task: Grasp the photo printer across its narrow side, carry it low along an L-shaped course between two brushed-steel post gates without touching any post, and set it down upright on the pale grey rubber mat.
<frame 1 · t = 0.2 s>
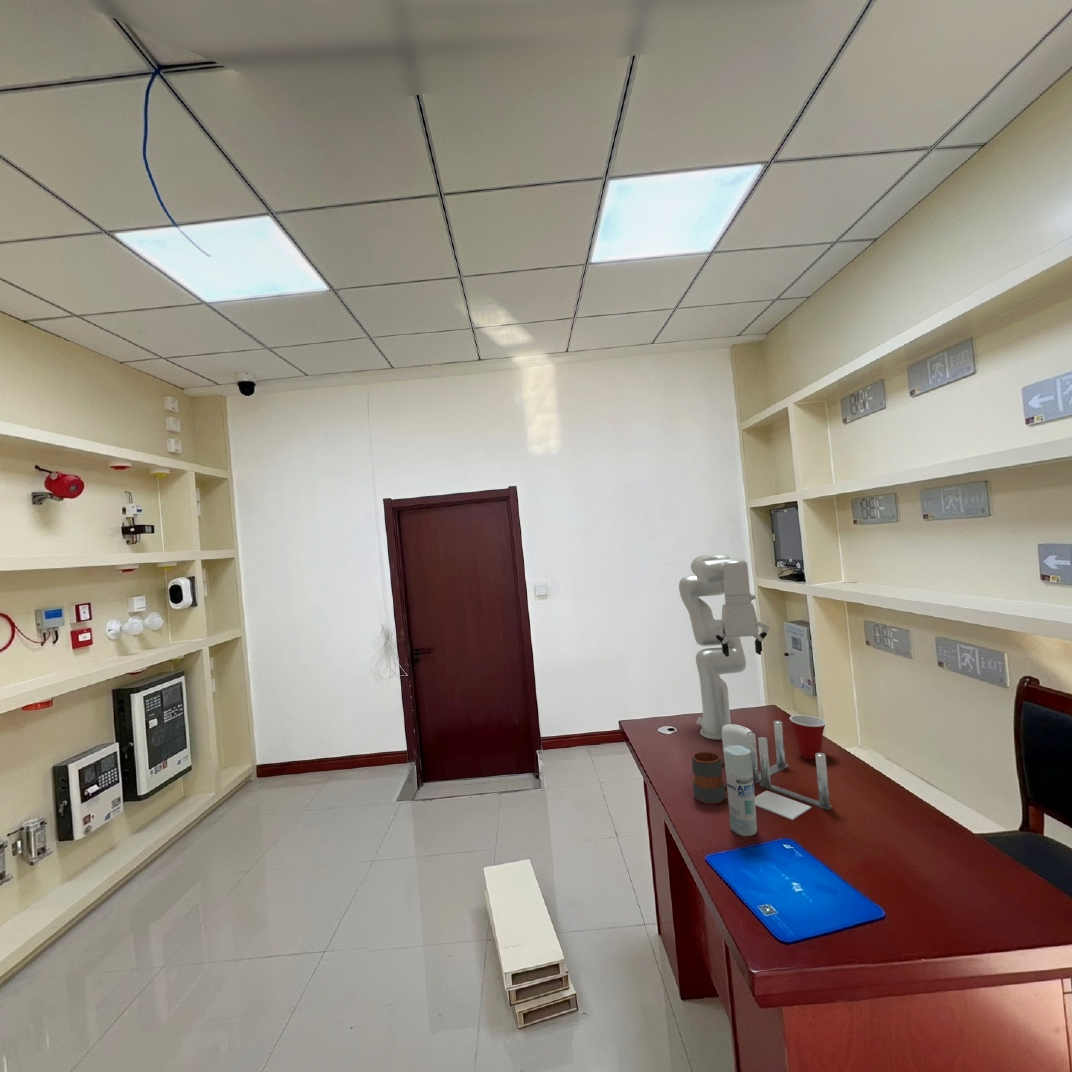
hand: (742, 654, 170), 36 cm above the table, tool pointing down, fingers open, 9 cm apart
mug: (715, 798, 155), on the table
spray paint can: (743, 830, 138), on the table
gate a: (768, 773, 168), on the table
mat: (778, 805, 148), on the table
plastic cup: (811, 756, 177), on the table
gate b: (794, 796, 152), on the table
photo printer: (740, 764, 176), on the table
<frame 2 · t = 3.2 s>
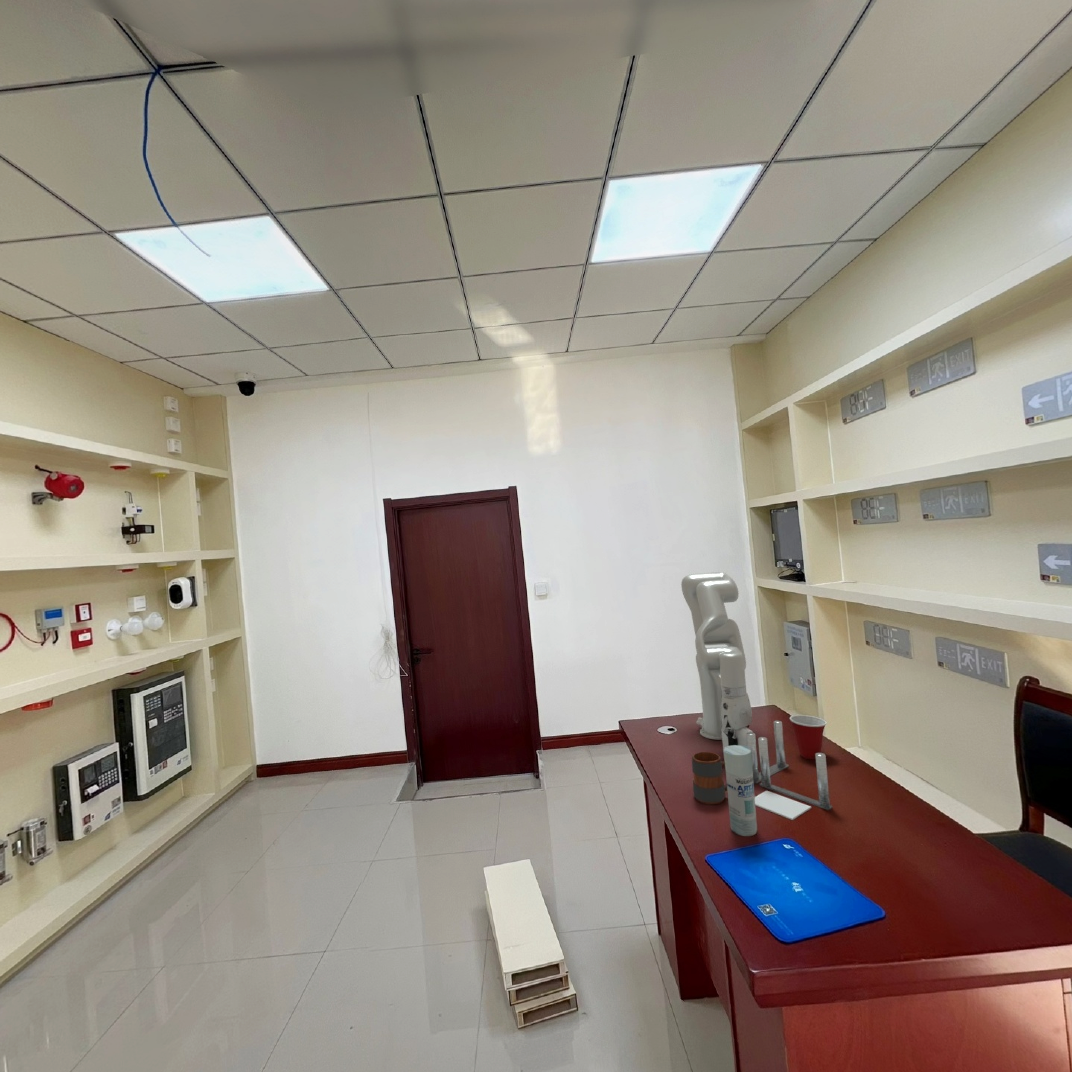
hand: (738, 746, 176), 5 cm above the table, tool pointing down, fingers closed on photo printer, 4 cm apart
photo printer: (740, 764, 176), on the table, touching gripper
everything else where it was.
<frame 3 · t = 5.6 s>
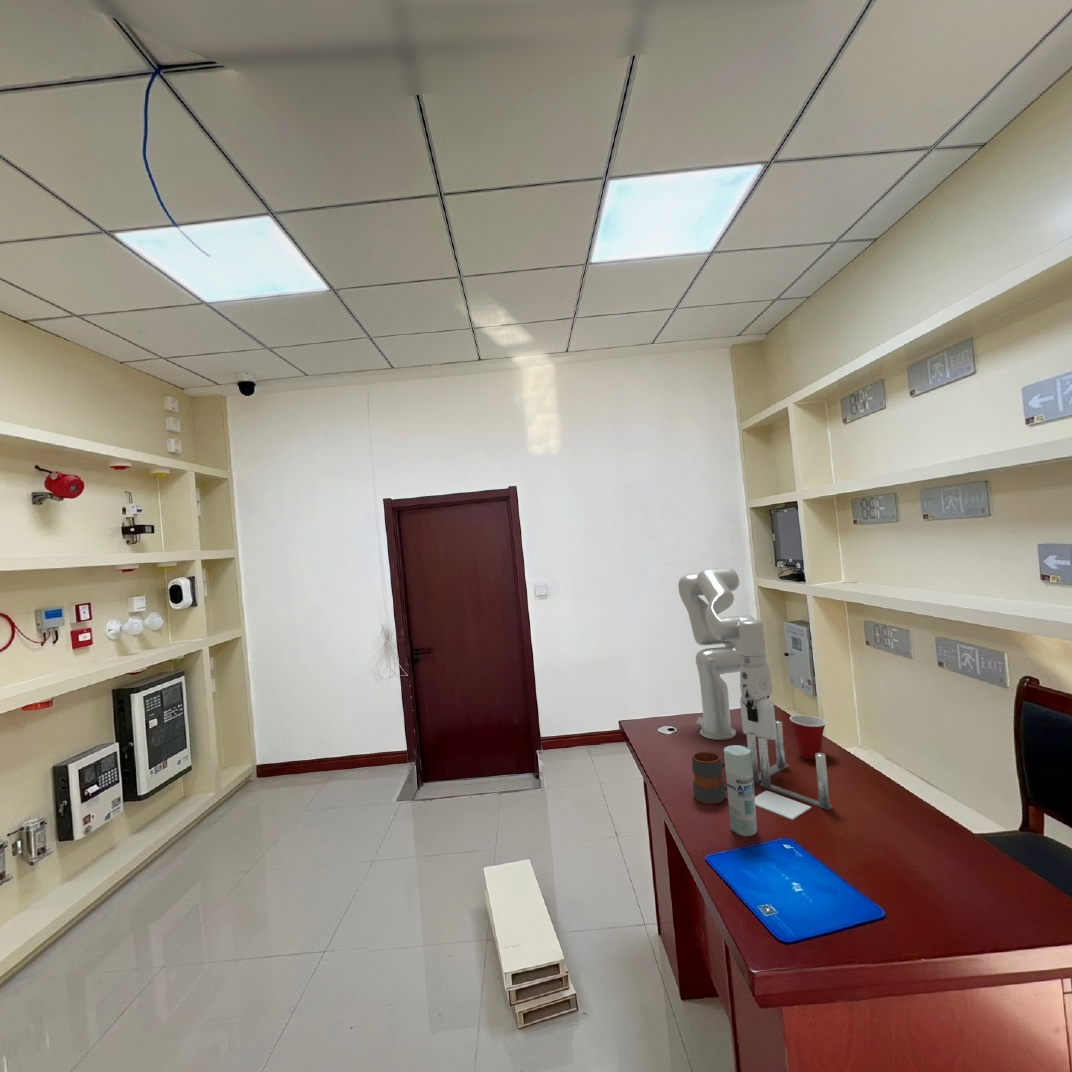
hand: (758, 718, 169), 16 cm above the table, tool pointing down, fingers closed on photo printer, 4 cm apart
photo printer: (759, 736, 169), point 11 cm above the table, touching gripper
everything else where it was.
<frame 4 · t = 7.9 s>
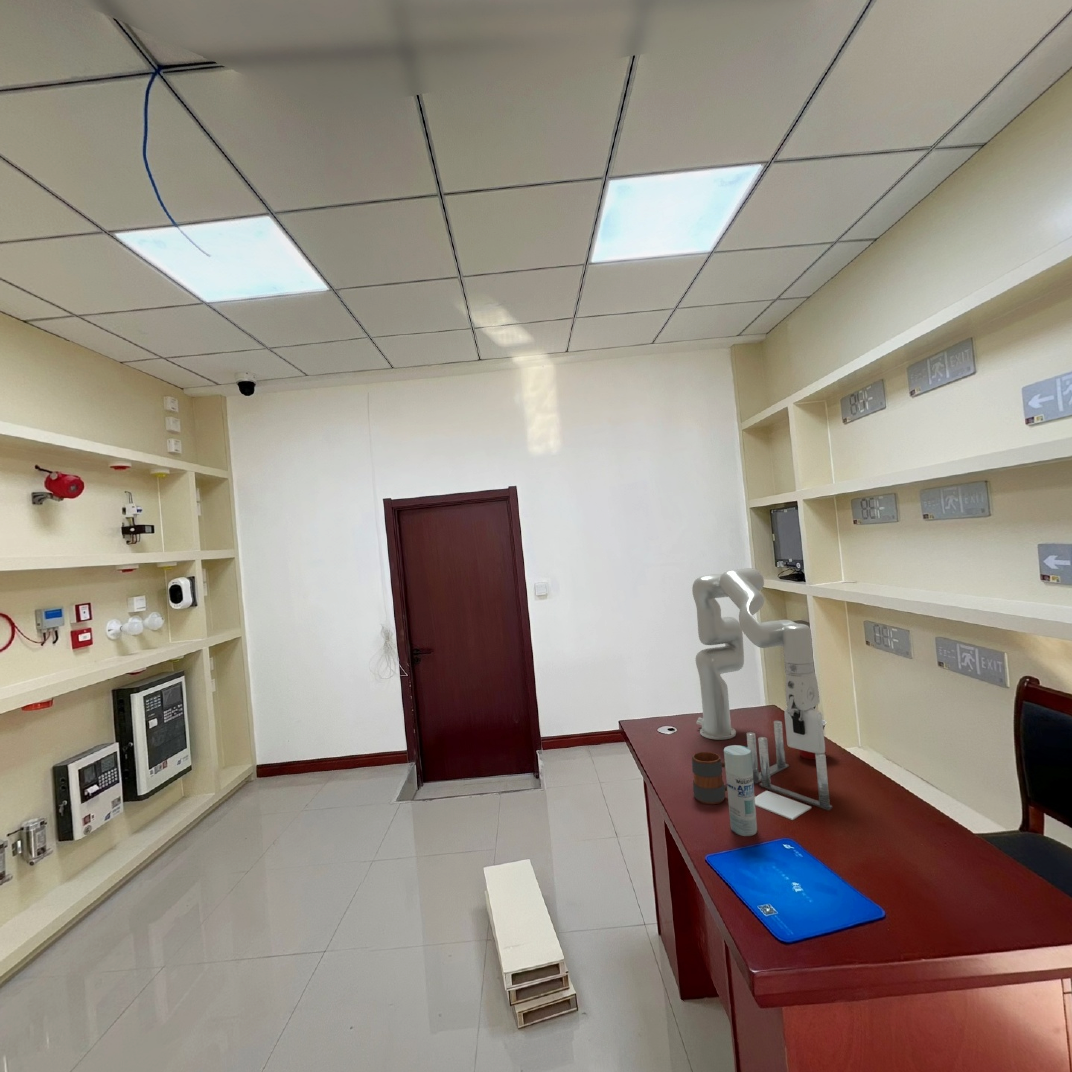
hand: (804, 730, 157), 16 cm above the table, tool pointing down, fingers closed on photo printer, 4 cm apart
photo printer: (805, 749, 157), point 11 cm above the table, touching gripper
everything else where it was.
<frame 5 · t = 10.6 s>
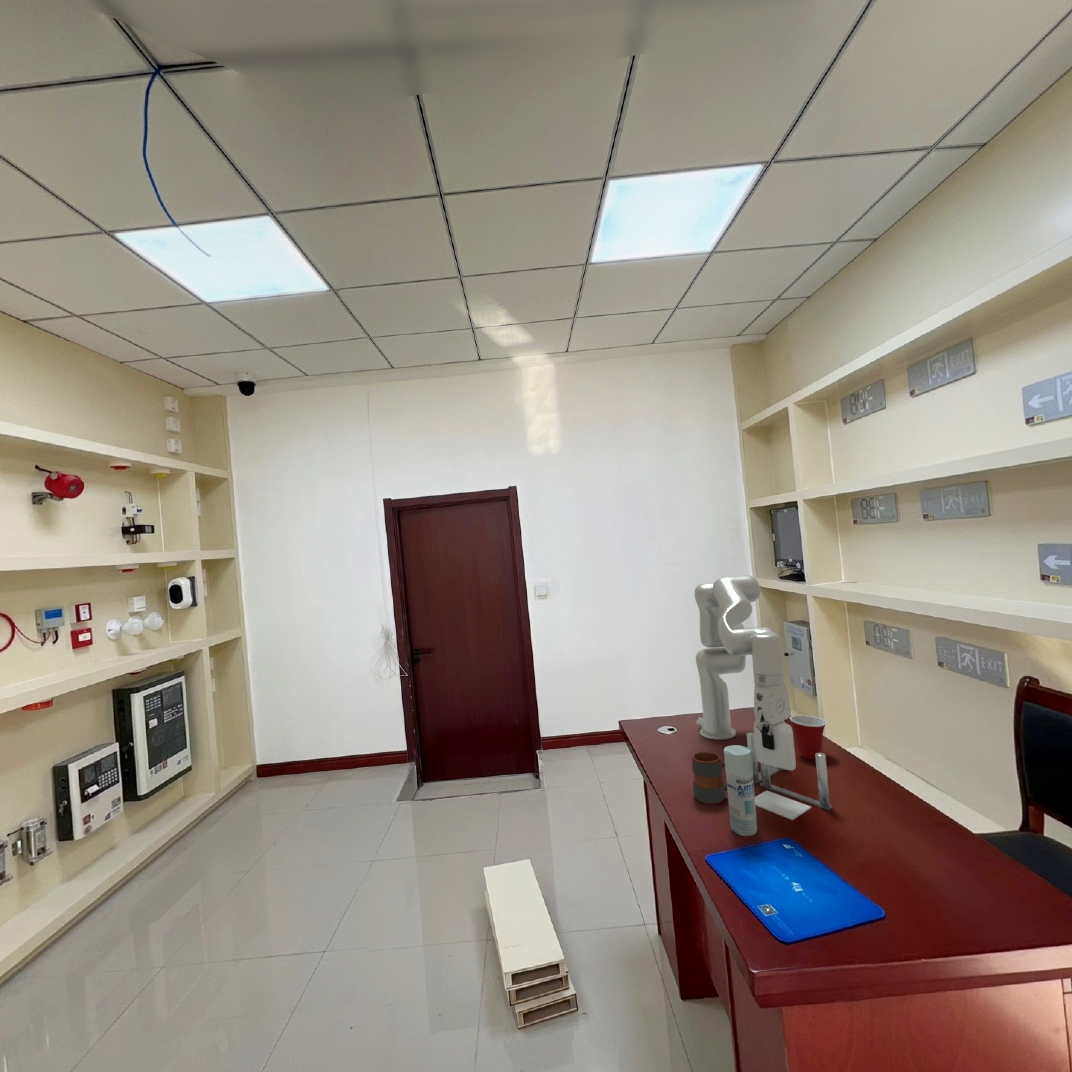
hand: (774, 745, 149), 16 cm above the table, tool pointing down, fingers closed on photo printer, 4 cm apart
photo printer: (776, 765, 149), point 11 cm above the table, touching gripper
everything else where it was.
when the fingers open (6 cm above the table, at t = 13.0 s): photo printer stays where it is, resting on mat.
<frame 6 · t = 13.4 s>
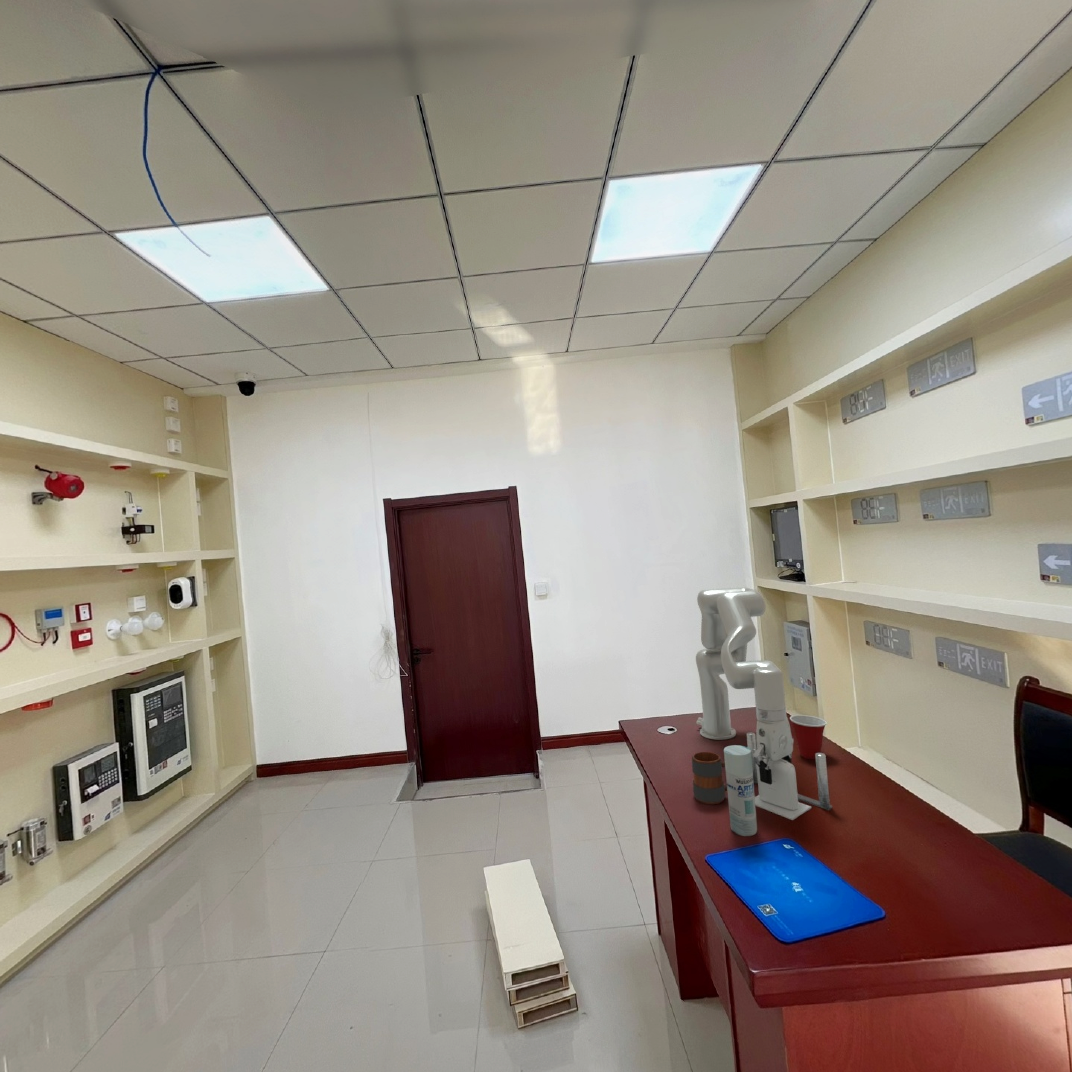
hand: (776, 777, 148), 8 cm above the table, tool pointing down, fingers open, 9 cm apart
photo printer: (778, 803, 148), resting on mat
everything else where it was.
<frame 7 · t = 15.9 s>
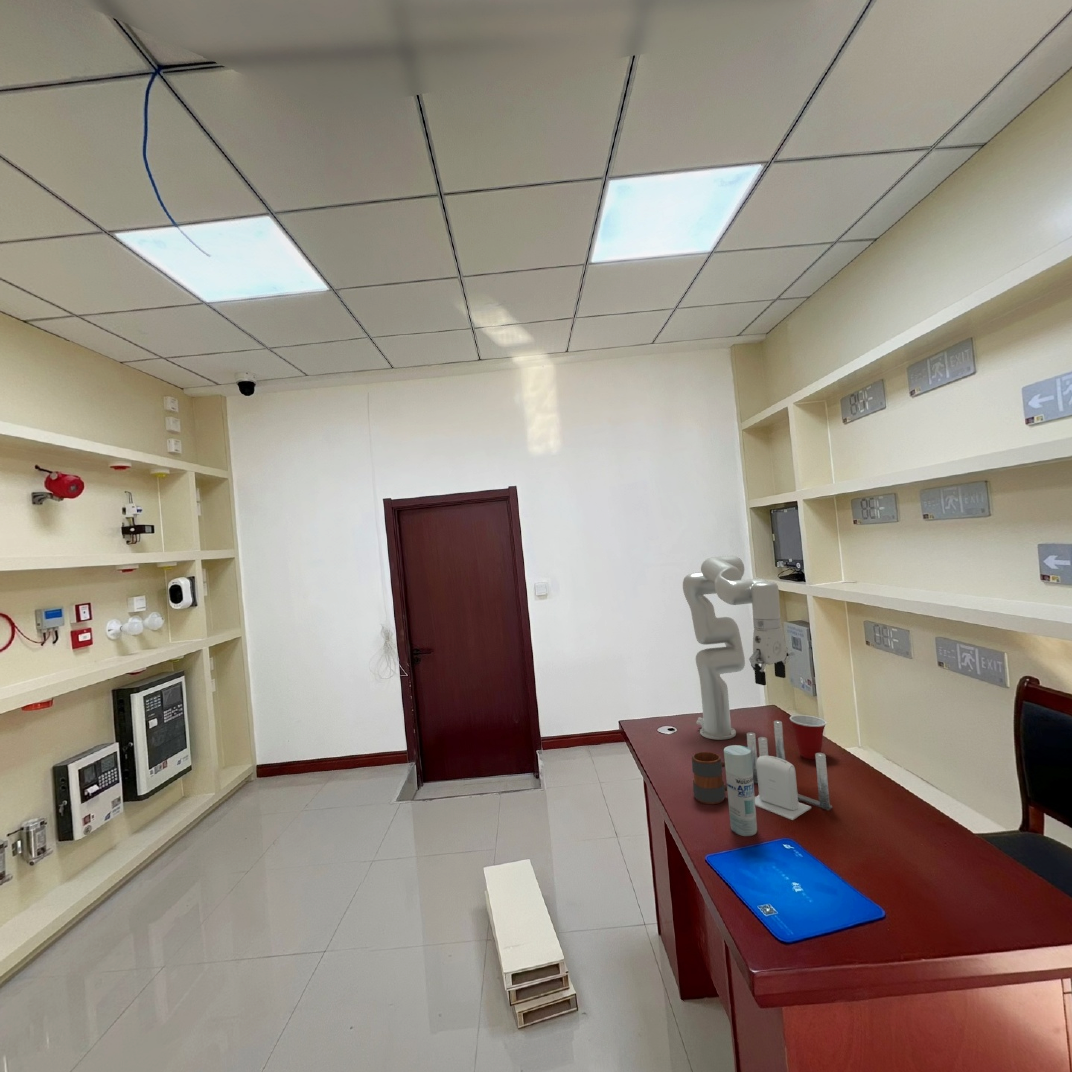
hand: (770, 680, 163), 29 cm above the table, tool pointing down, fingers open, 9 cm apart
nothing on the table moved.
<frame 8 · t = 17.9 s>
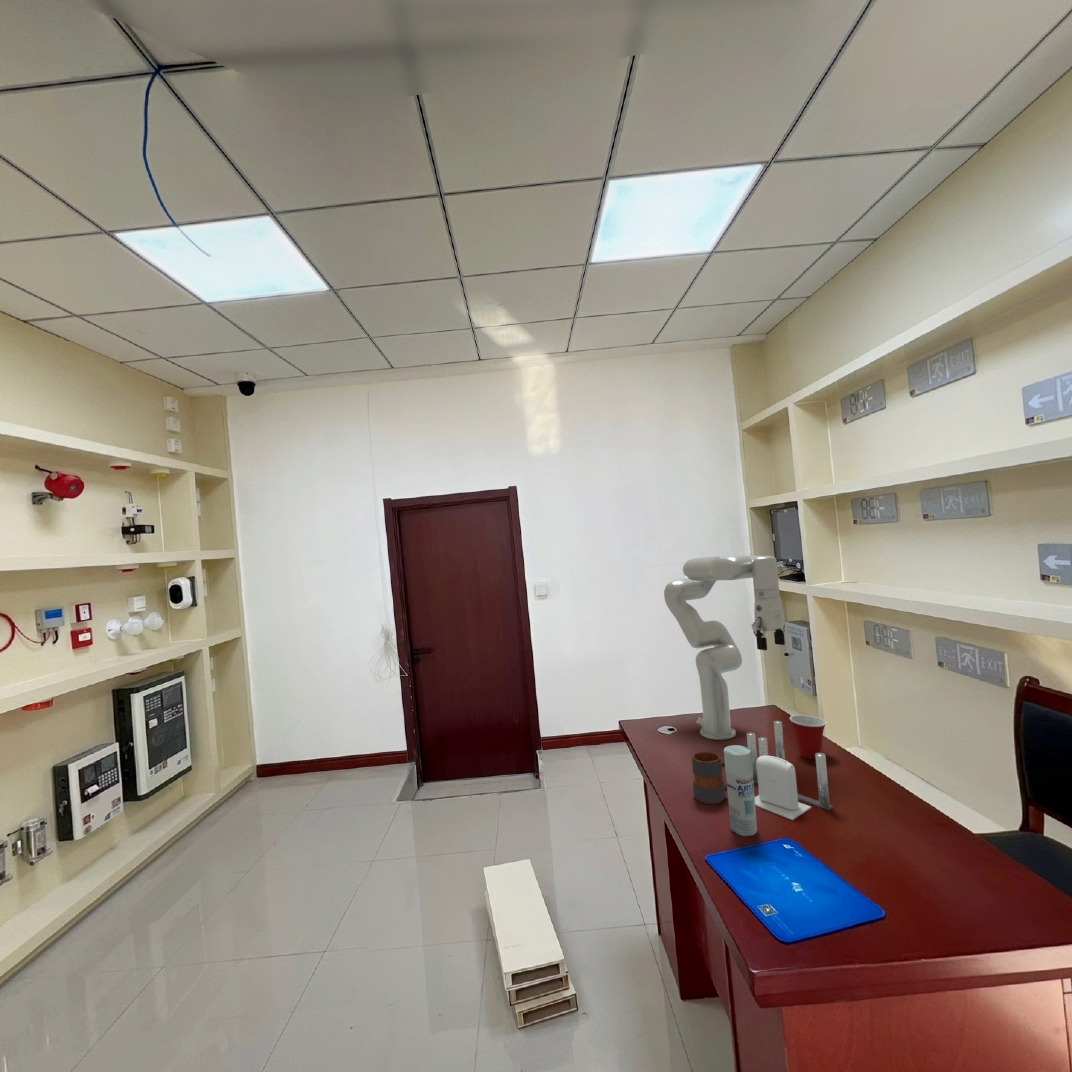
hand: (771, 647, 177), 36 cm above the table, tool pointing down, fingers open, 9 cm apart
nothing on the table moved.
at the end: photo printer inside the target area on the mat (0.3 cm from its centre), point 0.2 cm above the mat's base; gate a moved 0.1 cm from its start; gate b moved 0.1 cm from its start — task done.
